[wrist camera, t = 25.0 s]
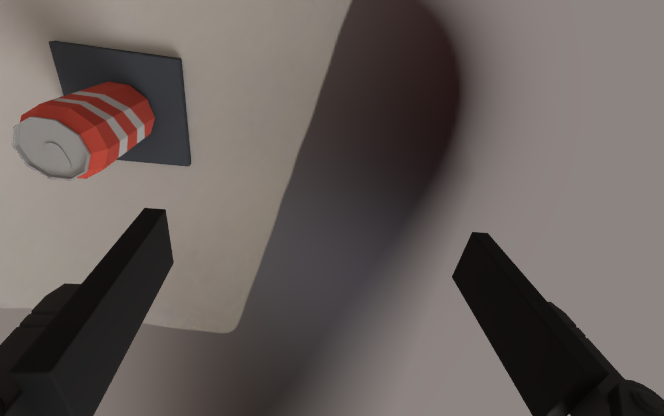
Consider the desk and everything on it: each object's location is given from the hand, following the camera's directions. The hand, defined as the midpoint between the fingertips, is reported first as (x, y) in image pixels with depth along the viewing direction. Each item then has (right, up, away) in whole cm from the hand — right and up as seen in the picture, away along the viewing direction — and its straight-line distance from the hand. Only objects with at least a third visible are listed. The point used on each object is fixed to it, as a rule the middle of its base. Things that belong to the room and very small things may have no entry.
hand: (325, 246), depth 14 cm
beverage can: (-22, +12, +21) cm, 33 cm away
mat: (-22, +13, +21) cm, 33 cm away
